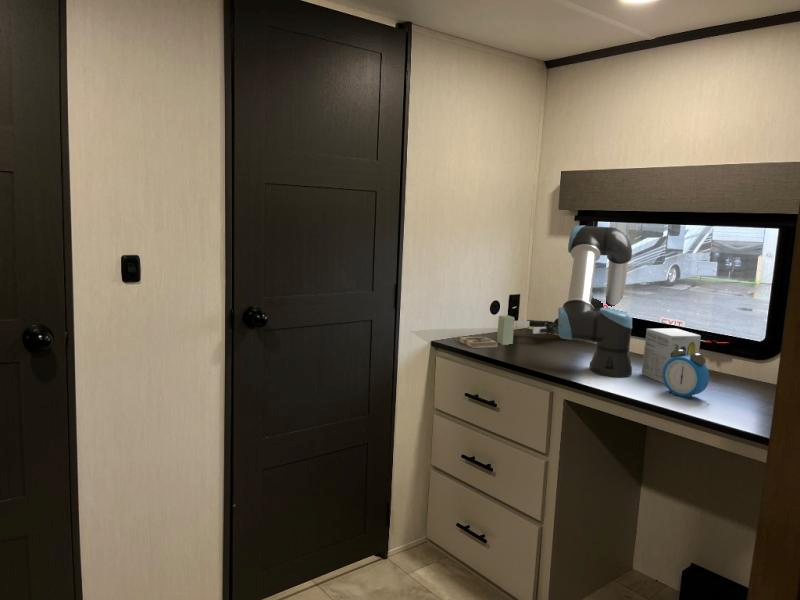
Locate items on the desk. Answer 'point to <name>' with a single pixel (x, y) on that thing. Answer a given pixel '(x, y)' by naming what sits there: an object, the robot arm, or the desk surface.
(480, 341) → the letter tile
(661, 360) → the supplement box
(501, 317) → the sage pillar
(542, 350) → the desk surface
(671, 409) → the desk surface
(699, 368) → the alarm clock
